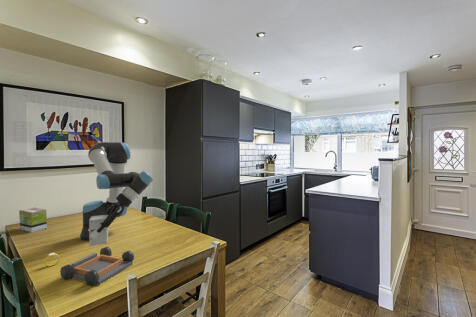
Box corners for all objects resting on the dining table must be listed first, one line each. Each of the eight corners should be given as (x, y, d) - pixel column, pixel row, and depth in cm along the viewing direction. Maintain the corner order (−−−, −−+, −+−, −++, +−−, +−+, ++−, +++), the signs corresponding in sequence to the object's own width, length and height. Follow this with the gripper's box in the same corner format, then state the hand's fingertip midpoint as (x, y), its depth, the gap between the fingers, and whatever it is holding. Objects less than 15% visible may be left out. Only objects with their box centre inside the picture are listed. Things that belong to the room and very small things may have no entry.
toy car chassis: (59, 278, 105) (59, 265, 105) (102, 256, 126) (102, 246, 126) (95, 287, 98) (95, 273, 98) (134, 263, 119) (134, 251, 119)
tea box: (19, 230, 168) (18, 210, 167) (35, 226, 177) (35, 207, 177) (31, 233, 162) (30, 212, 162) (47, 228, 172) (47, 208, 171)
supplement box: (88, 246, 107) (88, 219, 106) (91, 241, 113) (91, 215, 113) (107, 244, 110) (106, 218, 109) (108, 238, 116) (108, 214, 116)
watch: (45, 268, 114) (43, 257, 113) (45, 266, 116) (43, 255, 115) (60, 263, 118) (59, 252, 117) (59, 262, 120) (58, 251, 119)
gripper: (137, 205, 111) (100, 246, 103) (128, 198, 129) (95, 232, 120) (125, 195, 108) (85, 237, 99) (117, 189, 125) (82, 224, 116)
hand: (91, 234), depth 109 cm, fingers closed on supplement box, 8 cm apart
